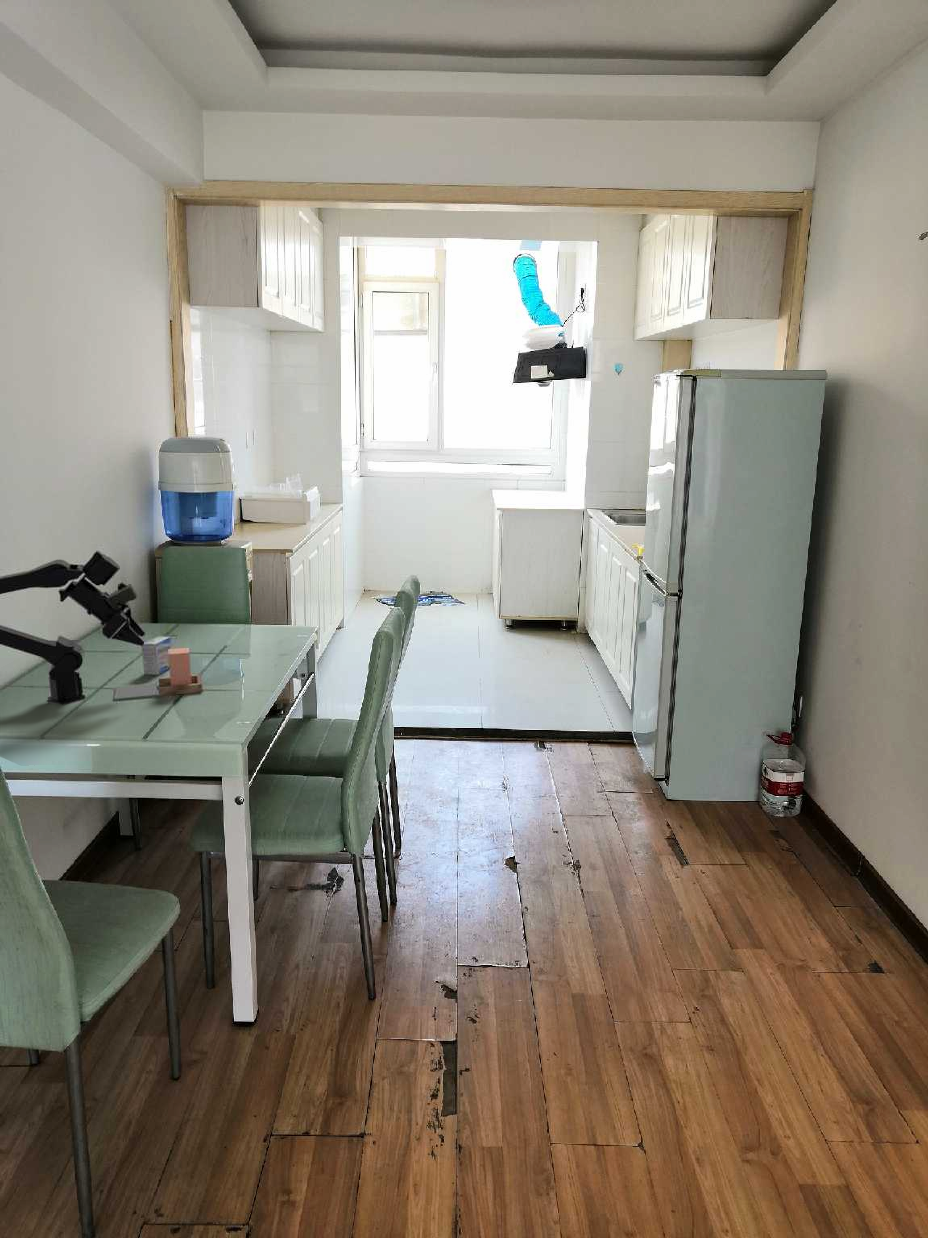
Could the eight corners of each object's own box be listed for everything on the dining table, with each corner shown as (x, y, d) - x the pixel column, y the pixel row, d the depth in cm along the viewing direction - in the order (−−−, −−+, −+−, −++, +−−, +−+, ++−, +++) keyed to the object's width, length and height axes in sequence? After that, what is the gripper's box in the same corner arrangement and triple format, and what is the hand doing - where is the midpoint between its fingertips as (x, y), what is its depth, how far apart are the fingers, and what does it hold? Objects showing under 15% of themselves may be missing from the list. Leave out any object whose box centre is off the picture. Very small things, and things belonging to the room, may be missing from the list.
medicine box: (158, 675, 248) (156, 644, 246) (143, 674, 249) (140, 643, 247) (173, 667, 256) (171, 636, 254) (158, 666, 257) (156, 636, 255)
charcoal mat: (113, 700, 228) (113, 698, 228) (116, 688, 238) (115, 686, 237) (156, 696, 231) (156, 694, 231) (157, 684, 240) (157, 683, 240)
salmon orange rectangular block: (171, 692, 234) (168, 654, 232) (171, 686, 239) (168, 649, 237) (192, 690, 236) (189, 652, 234) (191, 684, 241) (188, 647, 238)
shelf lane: (159, 695, 232) (158, 688, 231) (159, 685, 240) (158, 677, 240) (202, 691, 235) (202, 684, 234) (201, 681, 243) (200, 674, 243)
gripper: (112, 582, 218) (165, 624, 224) (116, 568, 235) (165, 607, 241) (79, 617, 217) (134, 658, 223) (86, 600, 235) (136, 639, 241)
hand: (143, 639), depth 232 cm, fingers open, 9 cm apart
